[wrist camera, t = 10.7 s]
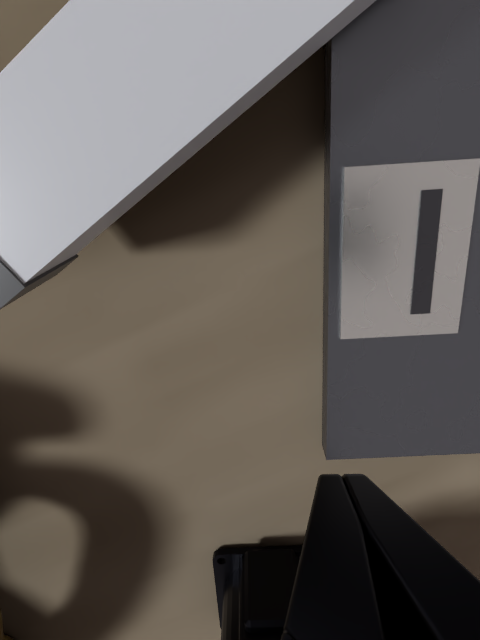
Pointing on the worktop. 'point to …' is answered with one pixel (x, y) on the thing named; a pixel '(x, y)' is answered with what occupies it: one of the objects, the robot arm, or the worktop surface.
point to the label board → (402, 232)
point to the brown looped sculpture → (0, 637)
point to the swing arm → (130, 109)
